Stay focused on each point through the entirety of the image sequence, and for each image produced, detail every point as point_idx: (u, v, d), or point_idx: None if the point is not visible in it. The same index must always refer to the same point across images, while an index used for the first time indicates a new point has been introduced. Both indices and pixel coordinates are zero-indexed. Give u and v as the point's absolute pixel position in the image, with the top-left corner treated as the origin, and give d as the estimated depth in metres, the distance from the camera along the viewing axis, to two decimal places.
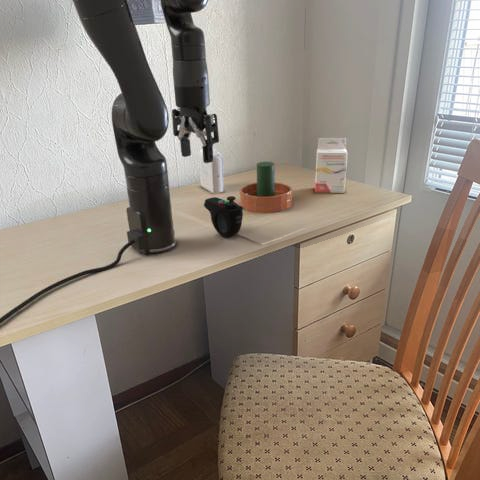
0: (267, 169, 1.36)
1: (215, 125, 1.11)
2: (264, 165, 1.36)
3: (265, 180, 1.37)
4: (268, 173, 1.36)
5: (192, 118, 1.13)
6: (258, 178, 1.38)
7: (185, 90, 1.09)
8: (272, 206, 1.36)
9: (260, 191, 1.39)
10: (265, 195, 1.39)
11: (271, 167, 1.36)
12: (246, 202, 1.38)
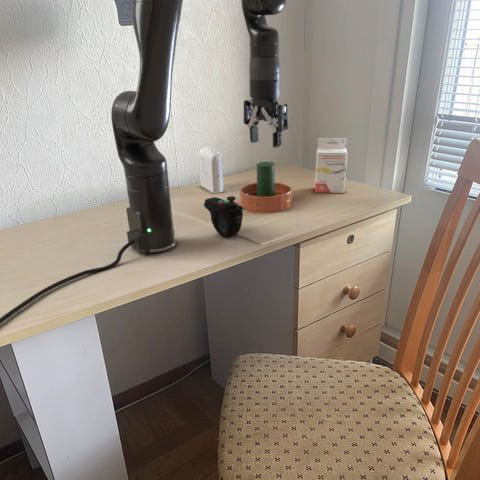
0: (267, 169, 1.36)
1: (286, 114, 1.26)
2: (264, 165, 1.36)
3: (265, 180, 1.37)
4: (268, 173, 1.36)
5: (264, 108, 1.28)
6: (258, 178, 1.38)
7: (261, 83, 1.24)
8: (272, 206, 1.36)
9: (260, 191, 1.39)
10: (265, 195, 1.39)
11: (271, 167, 1.36)
12: (246, 202, 1.38)
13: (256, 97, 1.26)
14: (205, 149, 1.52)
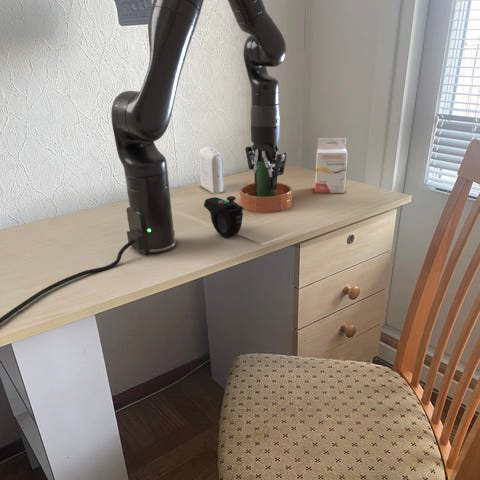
0: (267, 169, 1.36)
1: (283, 162, 1.33)
2: (264, 165, 1.36)
3: (265, 180, 1.37)
4: None
5: (265, 152, 1.34)
6: (258, 178, 1.38)
7: (261, 129, 1.30)
8: (272, 206, 1.36)
9: (260, 191, 1.39)
10: (265, 195, 1.39)
11: None
12: (246, 202, 1.38)
13: (257, 142, 1.32)
14: (205, 149, 1.52)
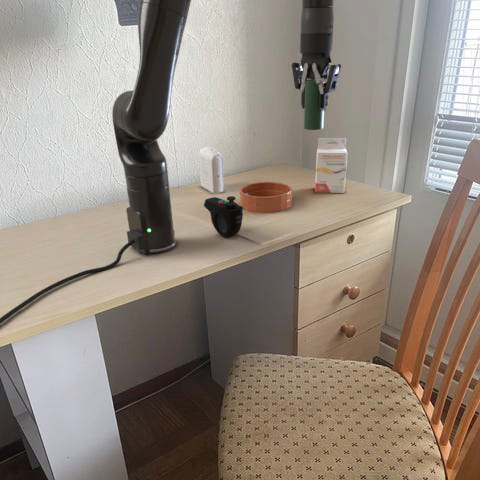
0: (317, 85, 1.23)
1: (337, 75, 1.20)
2: (314, 81, 1.23)
3: (315, 98, 1.24)
4: (318, 89, 1.23)
5: (316, 65, 1.20)
6: (307, 96, 1.25)
7: (314, 36, 1.16)
8: (272, 206, 1.36)
9: (308, 112, 1.26)
10: (314, 116, 1.26)
11: None
12: (246, 202, 1.38)
13: (308, 52, 1.18)
14: (205, 149, 1.52)
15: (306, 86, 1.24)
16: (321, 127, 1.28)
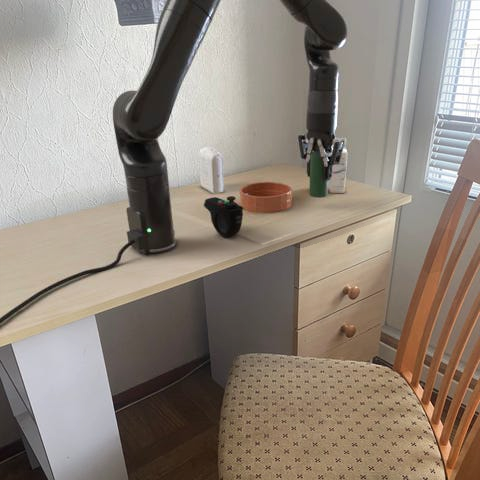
0: (322, 158, 1.31)
1: (341, 150, 1.28)
2: (319, 154, 1.31)
3: (320, 169, 1.32)
4: (323, 162, 1.31)
5: (321, 140, 1.28)
6: (312, 168, 1.33)
7: (319, 116, 1.24)
8: (272, 206, 1.36)
9: (313, 181, 1.34)
10: (319, 185, 1.34)
11: None
12: (246, 202, 1.38)
13: (313, 130, 1.26)
14: (205, 149, 1.52)
15: (311, 158, 1.32)
16: (325, 195, 1.36)
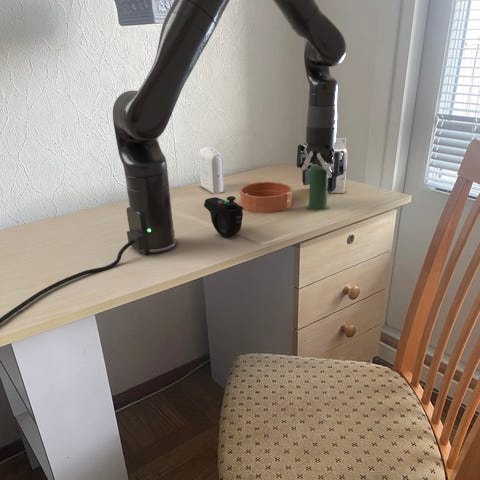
0: (321, 173, 1.32)
1: (342, 160, 1.28)
2: (319, 168, 1.33)
3: (319, 184, 1.34)
4: (322, 176, 1.33)
5: (320, 154, 1.30)
6: (312, 182, 1.35)
7: (319, 131, 1.26)
8: (272, 206, 1.36)
9: (313, 195, 1.36)
10: (318, 199, 1.36)
11: None
12: (246, 202, 1.38)
13: (313, 144, 1.28)
14: (205, 149, 1.52)
15: (311, 173, 1.34)
16: (325, 208, 1.38)
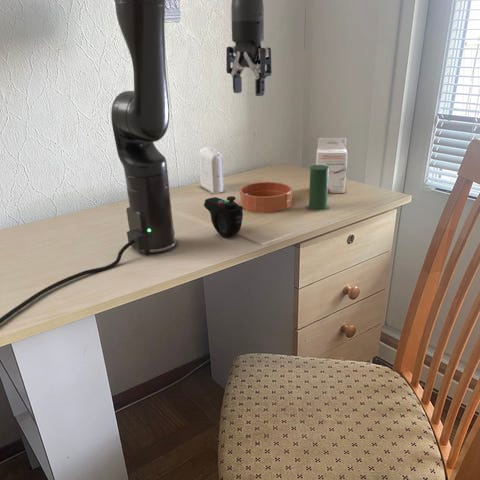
0: (321, 173, 1.32)
1: (269, 58, 1.20)
2: (319, 168, 1.33)
3: (319, 184, 1.34)
4: (322, 176, 1.33)
5: (247, 52, 1.22)
6: (312, 182, 1.35)
7: (243, 24, 1.18)
8: (272, 206, 1.36)
9: (313, 195, 1.36)
10: (318, 199, 1.36)
11: (326, 170, 1.33)
12: (246, 202, 1.38)
13: (238, 40, 1.20)
14: (205, 149, 1.52)
15: (311, 173, 1.34)
16: (325, 208, 1.38)
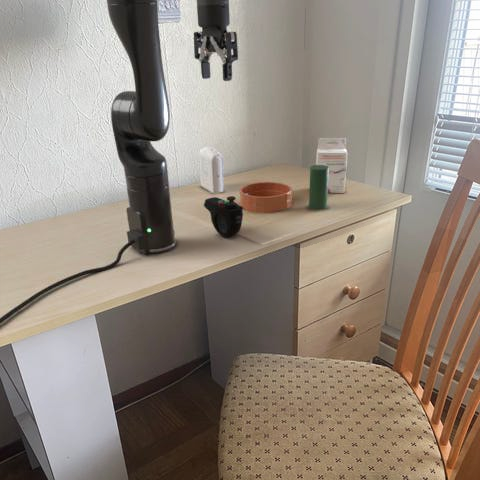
0: (321, 173, 1.32)
1: (235, 42, 1.20)
2: (319, 168, 1.33)
3: (319, 184, 1.34)
4: (322, 176, 1.33)
5: (213, 37, 1.22)
6: (312, 182, 1.35)
7: (208, 8, 1.18)
8: (272, 206, 1.36)
9: (313, 195, 1.36)
10: (318, 199, 1.36)
11: (326, 170, 1.33)
12: (246, 202, 1.38)
13: (203, 24, 1.20)
14: (205, 149, 1.52)
15: (311, 173, 1.34)
16: (325, 208, 1.38)
